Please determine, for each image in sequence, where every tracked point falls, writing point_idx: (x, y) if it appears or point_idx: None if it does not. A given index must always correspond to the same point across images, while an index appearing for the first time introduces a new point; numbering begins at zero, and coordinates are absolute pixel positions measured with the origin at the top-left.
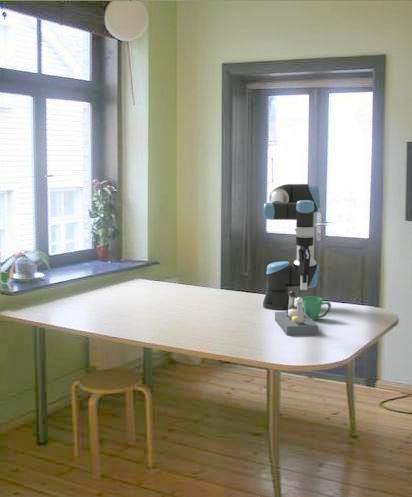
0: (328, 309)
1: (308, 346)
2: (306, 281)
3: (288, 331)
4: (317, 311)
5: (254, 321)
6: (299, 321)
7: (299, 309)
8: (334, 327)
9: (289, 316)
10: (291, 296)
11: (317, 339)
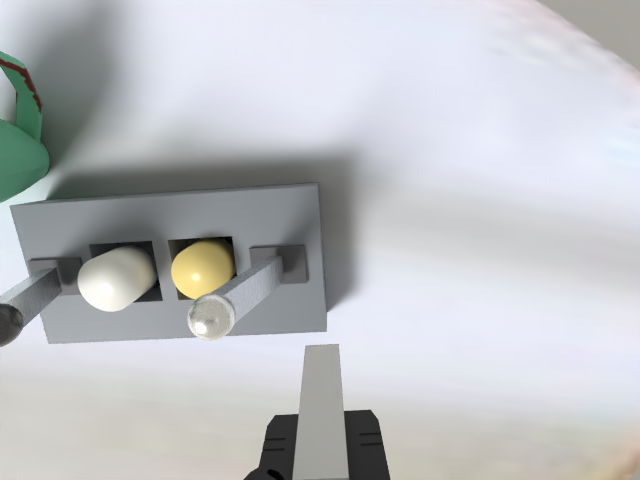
0: (18, 68)
1: (503, 257)
2: (377, 423)
3: (326, 314)
4: (14, 133)
5: (107, 401)
6: (283, 276)
7: (252, 296)
8: (185, 73)
9: (141, 295)
10: (22, 326)
11: (400, 200)
